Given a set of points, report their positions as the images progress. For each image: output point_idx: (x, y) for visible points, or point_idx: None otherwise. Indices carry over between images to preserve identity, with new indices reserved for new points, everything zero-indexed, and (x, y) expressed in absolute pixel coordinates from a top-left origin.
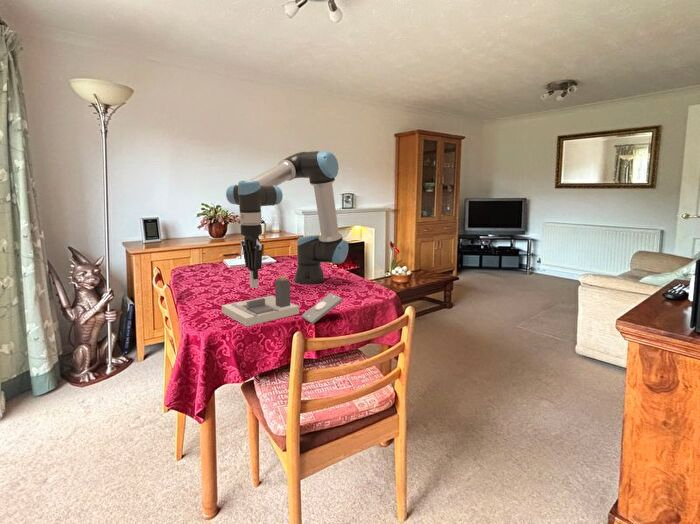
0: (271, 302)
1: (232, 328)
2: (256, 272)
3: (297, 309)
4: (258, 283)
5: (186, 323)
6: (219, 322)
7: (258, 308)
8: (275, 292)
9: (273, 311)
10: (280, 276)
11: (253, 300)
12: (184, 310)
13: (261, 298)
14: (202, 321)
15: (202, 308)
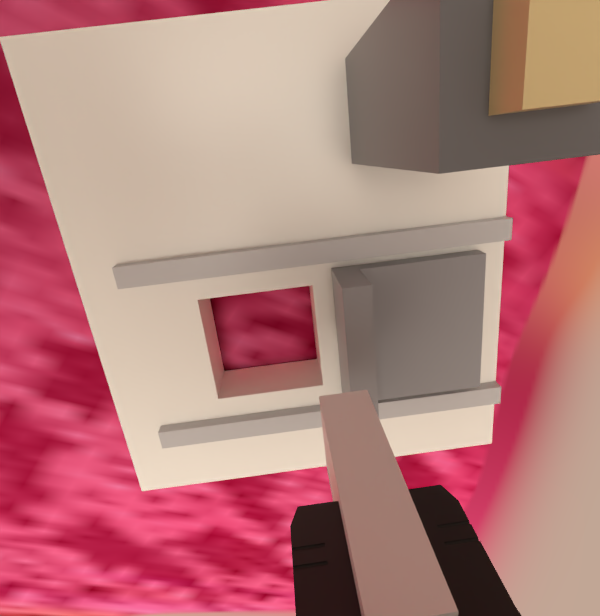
0: (254, 161)
1: (444, 471)
2: (495, 606)
3: None
4: (377, 415)
5: (242, 605)
6: (316, 498)
7: (411, 344)
8: (381, 166)
9: (491, 254)
10: (527, 55)
11: (358, 382)
12: (9, 590)
13: (76, 186)
14: (253, 553)
15: (5, 518)
